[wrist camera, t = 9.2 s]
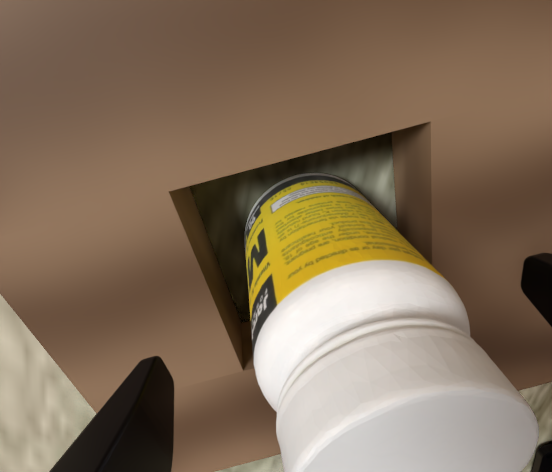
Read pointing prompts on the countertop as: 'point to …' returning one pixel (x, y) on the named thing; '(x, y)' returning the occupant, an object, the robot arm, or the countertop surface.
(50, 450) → the countertop surface
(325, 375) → the supplement bottle
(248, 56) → the socket board
